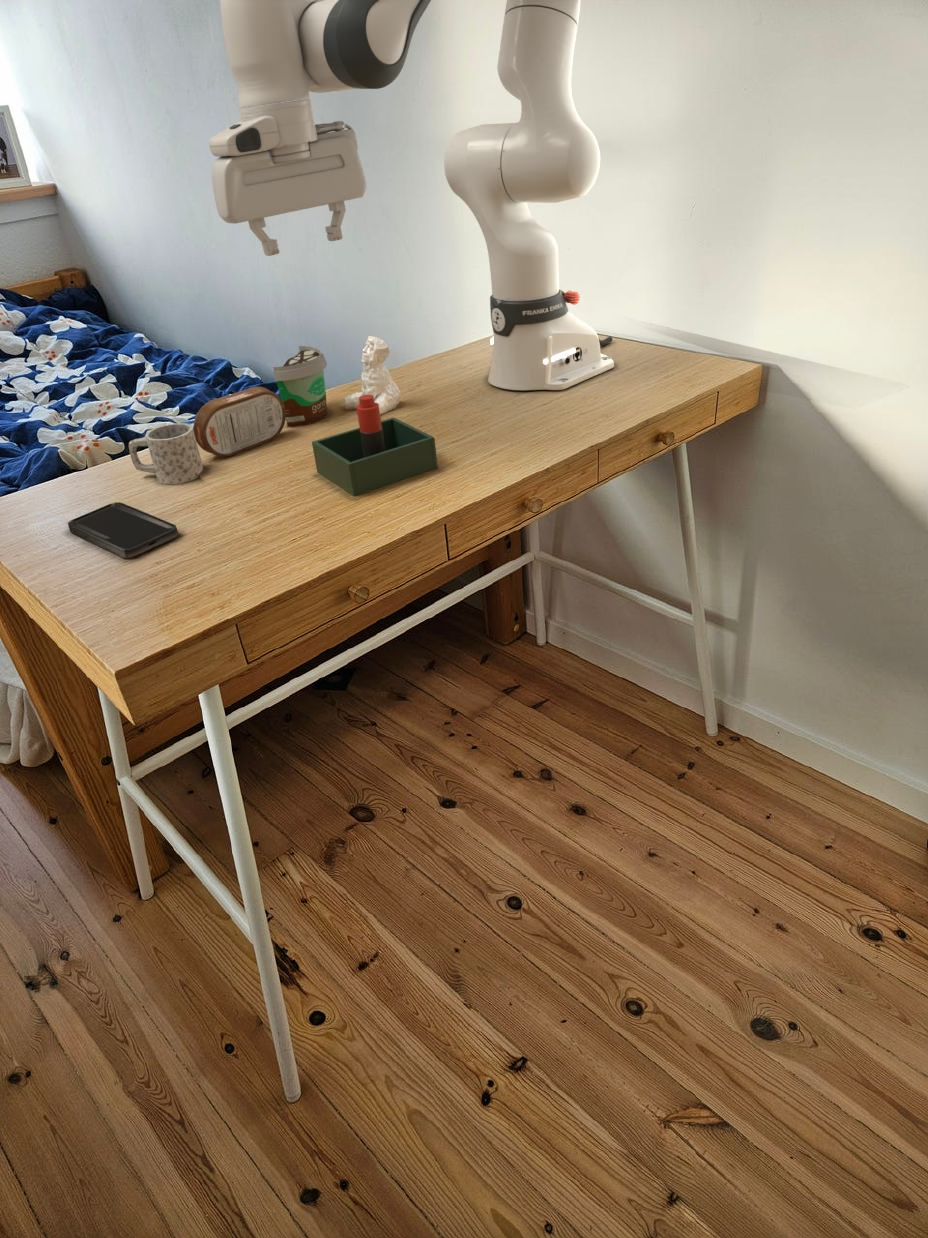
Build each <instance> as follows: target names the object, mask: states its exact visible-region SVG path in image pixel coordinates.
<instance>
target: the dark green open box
mask: <svg viewBox="0 0 928 1238" xmlns="http://www.w3.org/2000/svg"><path fill="white" fill-rule="evenodd" d="M381 425H382V430H383V437H384V444H385V451H384V452H381V453H378V454H375V455H372V456H369V457H365V458H364V456H363V449H362V443H361V436H360V427H356V428H354V429H353V428H352V429H349V430H347V431H343V432H340V433H337V434H336V433H335V434H333V435H330V436H326V437H323V438H320V439H317V440H312V441H311V446H312V451H313V456H314V463H315V468H316V472H317V473H318V474H319V475H320V476H322V477H323V478H325V479H327V480H328V481H329V482H330V483H333V484H334V485H336V486H338V488H340V489H341V490H343V491H344V492H346V493H348V494H349V495H350V496H352V497H358V496H360V495H363V494H366V493H369V492H372V491H376V490H379V489H380V488H381V489H382V488H384V487H386V486H390V485H392V484H393V485H394V484H395V483H398V482H402V481H404V480H405V481H406V480H408V479H410V478H413V477H416V476H420V475H423V474H426V473H428V472H431V471H434V470H437V469H439V468H438V458H437V449H436V448H437V447H436V439H435V436H432V435H431V434H428V432H427V433H426V432H424V431H423V430H421V429H418V428H416V427H414V426H412V425H410V424H408V423H407V422H405V421H402V420H400V419H398V418H396V417H394V416H393V417H390V418H387V419H383V420H381Z"/></svg>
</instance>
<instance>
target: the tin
mask: <svg viewBox="0 0 928 1238" xmlns="http://www.w3.org/2000/svg"><path fill="white" fill-rule="evenodd" d="M285 425H286V413H285V406H284V403H283V401H282V399H281V398H280V395H278V394H277V393H275V392H273V391H271V390H270V389H268V388H266V387H263V386H253V387H250V388H247V389H244V390H240V391H237V392H234V393H232V394H227V395H224V396H221V397H219V398H215V399H212V400H209V401H208V402H206V403H205V404H204V405H202V406H201V407H200V409H199V410H198V412H197V413H196V415H195V418H194V421H193V430H194V434H195V438H196V442H197V446H198V447H199V448H201V449H202V450H203V451H205V452H207V453H209V454H212V455H214V456H216V457H223V458H227V457H230V456H234V455H236V454H240V453H242V452H244V451H247V450H250V449H253V448H256V447H258V446H261V445H265V444H266V443H270V442H271V441H273V440H275V439H276V438H277V437H278V436H279V435H280V434H281V433H282V432H283V429H284V426H285Z"/></svg>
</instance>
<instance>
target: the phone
mask: <svg viewBox="0 0 928 1238" xmlns="http://www.w3.org/2000/svg"><path fill="white" fill-rule="evenodd" d="M67 526H68V529H69V532H70V533H72V534H73V535H75V536H78V537H80V538H81V539H83V540H86V541H88V542H89V543H91V544H94V545H96V546H98V547H100V548H102V549H103V550H107V551H108V552H111V553H113V554H114V555H117V556H119V557H121V558H123V559H132V558H136V557H138V556H140V555H142V554H144V553H146V552H149V551H151V550H153V549H156V548H157V547H160V546H161V545H164V544H166V543H168V542H170V541H172V540H174V539H176V538H178V537H179V535H180V534H179V530H178V529H177V525H176V524H173V523H171V522H169V521H167V520H164V519H162V518H159V517H157V516H154V515H152V514H150V513H147V512H145V511H143V510H140V509H138V508H136V507H133V506H131V505H128V504H125V503H123V502H120V501H119V502H118V501H117V502H112V503H108V504H106V505H104V506H101V507H99V508H96V509H93V510H92V511H89V512H87V513H84V514H82V515H79V516H78V517H75V518H73V519H71V520H69V521H68V522H67Z"/></svg>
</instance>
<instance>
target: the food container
mask: <svg viewBox="0 0 928 1238" xmlns="http://www.w3.org/2000/svg"><path fill="white" fill-rule="evenodd" d="M298 349H299V350H298V351H299V352H297V354H296V355H294V356H292V357H290V358H288V359H287V360H286V361H285V363H284V364H283V365H282V366H273V367H272V368H273V379H274V382H276V385H277V389H278V393H279V397H280V398H281V399H282V401H283V403H284V406H285V413H286V419H285V423H286V425H287V427H288V428H290V427H292V428H293V427H301V426H306V425H310V424H314V423H317V422H319V421H321V420H323V419H324V418H326V417H327V416H328V405H327V404H328V403H327V394H326V382H325V373H324V372H325V371H324V370H325V369H326V368H327V366H328V363H327V360H326V357H325V355H324V353H323V352H322V350H321V349H320V348H318V347H315V346H309V345H298Z"/></svg>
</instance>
